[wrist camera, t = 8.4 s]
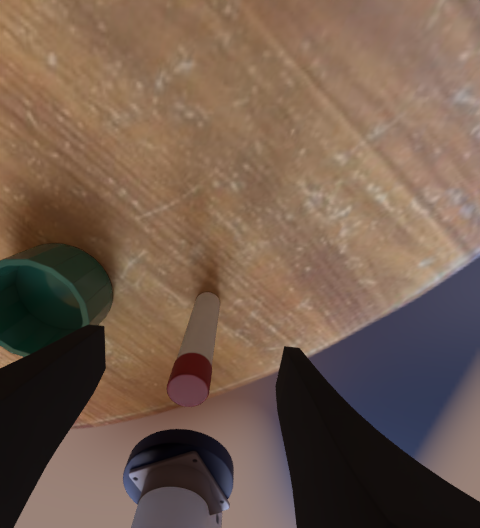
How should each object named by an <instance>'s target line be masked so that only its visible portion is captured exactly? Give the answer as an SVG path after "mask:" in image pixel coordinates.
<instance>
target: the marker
mask: <svg viewBox="0 0 480 528" xmlns="http://www.w3.org/2000/svg"><path fill="white" fill-rule="evenodd" d="M219 308H220V301H219V298H218V297H217V296H216V295H215V294H213V293H210V292H205V293H202V294H200V295H199V296H198V297H197V298H196V301H195V304H194V307H193V310H192V313H191V316H190V320H189V323H188V326H187V329H186V332H185V335H184V338H183V341H182V344H181V347H180V350H179V354H178V357H177V359H176V361H175V363H174V366H173V369H172V372H171V375H170V378H169V381H168V384H167V393H168V396H169V397H170V399H171V400H172V401H173V402H175V403H176V404H178V405H181V406H185V407H193V406H197V405H199V404H201V403H203V402H204V401H205V400H206V398H207V397H208V395H209V390H210V382H211V375H212V360H213V352H214V345H215V338H216V330H217V323H218V315H219Z"/></svg>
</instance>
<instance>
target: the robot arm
mask: <svg viewBox="0 0 480 528" xmlns="http://www.w3.org/2000/svg"><path fill="white" fill-rule="evenodd" d="M105 369H106V365H105V334H104V326H98V325H90V324H88V325H86V326H84V327H82V328H80V329H78V330H76V331H74V332H72V333H70V334H68V335H66V336H64V337H63V338H61V339H59V340H57V341H55V342H53V343H51V344H49V345H47V346H45V347H43V348H42V349H40V350H38V351H36V352H34V353H32V354H30V355H27V356H25V357H23V358H21V359H19V360H17V361H15V362H13V363H11V364H9V365H7V366H5V367H3V368H0V528H14V526H15V523H16V522H17V520H18V518H19V516H20V514H21V512H22V510H23V508H24V506H25V504H26V502H27V501H28V499H29V497H30V495H31V493H32V491H33V490H34V488H35V486H36V484H37V482H38V480H39V479H40V477H41V475H42V473H43V471H44V469H45V468H46V465H47V464H48V462H49V461H50V459H51V458H52V456H53V454H54V453H55V451H56V449H57V448H58V446H59V445H60V443H61V442H62V440H63V439H64V437H65V436H66V434H67V433H68V431H69V430H70V428H71V427H72V425H73V424H74V422H75V421H76V419H77V418H78V416H79V415H80V413H81V412H82V410H83V409H84V407H85V406H86V404H87V403H88V401H89V399H90V398H91V396H92V395H93V393H94V391H95V389H96V387H97V385H98V383H99V381H100V379H101V377H102V375H103V373H104V371H105ZM276 399H277V410H278V416H279V421H280V426H281V431H282V436H283V441H284V446H285V451H286V456H287V461H288V466H289V470H290V477H291V482H292V488H293V498H294V507H295V515H296V525H297V528H480V502H479V501H477V500H476V499H474V498H472V497H471V496H469V495H467V494H466V493H464V492H463V491H461V490H459V489H458V488H456V487H454V486H453V485H451V484H450V483H448V482H447V481H445V480H444V479H442V478H441V477H439V476H438V475H436V474H435V473H433V472H432V471H430V470H429V469H428V468H426V467H425V466H423V465H422V464H420V463H419V462H418V461H416V460H415V459H414V458H412V457H411V456H409V455H408V454H407V453H405V452H404V451H403V450H401V449H400V448H399V447H398V446H396V445H395V444H394V443H392V442H391V441H390V440H389V439H387V438H386V437H385V436H384V435H382V434H381V433H380V432H379V431H378V430H376V429H375V428H374V427H373V426H372V425H371V424H370V423H369V422H367V421H366V420H365V419H364V418H363V417H362V416H361V415H359V414H358V413H357V412H356V411H355V410H354V409H353V408H352V407H351V406H350V405H349V404H348V403H347V402H346V401H345V400H344V399H343V398H342V397H341V396H340V395H339V394H338V393H337V391H336V390H335V389H334V388H333V387H332V386H331V385H330V384H329V383H328V382H327V380H326V379H325V378H324V377H323V376H322V375H321V374H320V372H319V371H318V370H317V369H316V368H315V366H314V365H313V364H312V363H311V361H310V360H309V359H308V358H307V357H306V355H305V354H304V353H303V352H302V351H301V349H300V348H295V347H286V346H284V351H283V355H282V360H281V364H280V369H279V373H278V378H277V382H276ZM129 477H130V478H131V479H132V481H133V482H134V483H135V485H136V486H137V487H138V488H139V490H140V491H141V492H142V493H141V496H140V499H139V503H138V506H137V509H136V513H135V516H134V520H133V523H132V526H131V528H221V525H222V511H224V510H228V509H229V508H230V503H229V501H228V500H227V498H226V497H225V495H224V493H223V492H222V490H221V489H220V487H219V486H218V484H217V483H216V481H215V479H214V478H213V476H212V475H211V473H210V472H209V470H208V468H207V467H206V465H205V464H204V462H203V461H202V459H201V458H200V456H199V454H198V453H197V452H196V451H190V452H187V453H184V454H180V455H177V456H174V457H171V458H167V459H164V460H161V461H158V462H155V463H151V464H148V465H145V466H142V467H138V468H135V469H132V470H130V472H129Z"/></svg>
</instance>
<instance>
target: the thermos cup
mask: <svg viewBox="0 0 480 528" xmlns="http://www.w3.org/2000/svg"><path fill="white" fill-rule="evenodd" d="M112 299H113V292H112V286H111V282H110V280H109V277H108V275H107V273H106V272H105V270H104V269H103V267H102V266H101V265H100V264H99V263H98V262H97V261H96V260H95V259H94V258H93V257H92V256H90V255H89V254H87V253H86V252H84V251H82V250H80V249H78V248H76V247H73V246H70V245H65V244H58V243H51V244H44V245H39V246H36V247H34V248H31V249H28V250H26V251H23V252H21V253H18V254H15V255H13V256H10V257H8V258H5V259H3V260H0V346H2V347H3V348H5V349H6V350H8V351H9V352H11V353H13V354H16V355H19V356H23V357H25V356H27V355H30V354H32V353H34V352H36V351H38V350H40V349H42V348H43V347H45V346H47V345H49V344H51V343H53V342H55V341H57V340H59V339H61V338H63V337H64V336H66V335H68V334H70V333H72V332H74V331H76V330H78V329H80V328H82V327H84V326H86V325H88V324H90V325H99V324H100V323H101V322H102V320H103V319H104V318H105V317H106V315H107V314H108V312H109V310H110V308H111V305H112Z"/></svg>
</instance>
